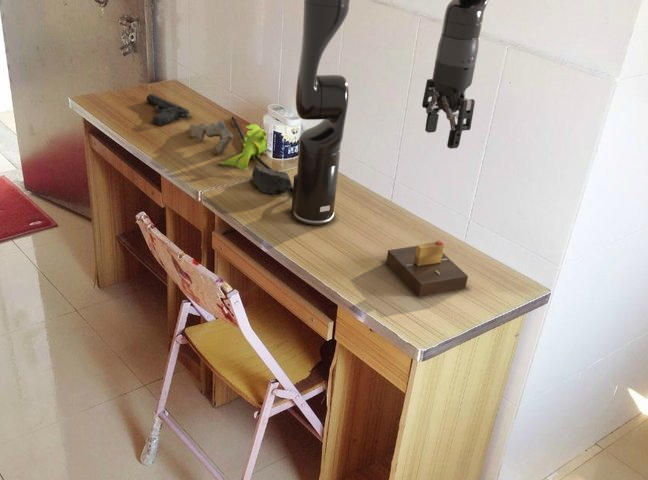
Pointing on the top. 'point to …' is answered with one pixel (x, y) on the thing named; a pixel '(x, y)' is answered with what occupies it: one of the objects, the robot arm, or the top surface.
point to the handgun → (166, 110)
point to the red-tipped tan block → (428, 253)
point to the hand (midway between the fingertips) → (441, 139)
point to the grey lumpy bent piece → (213, 134)
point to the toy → (250, 147)
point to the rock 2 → (271, 180)
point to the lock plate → (426, 272)
